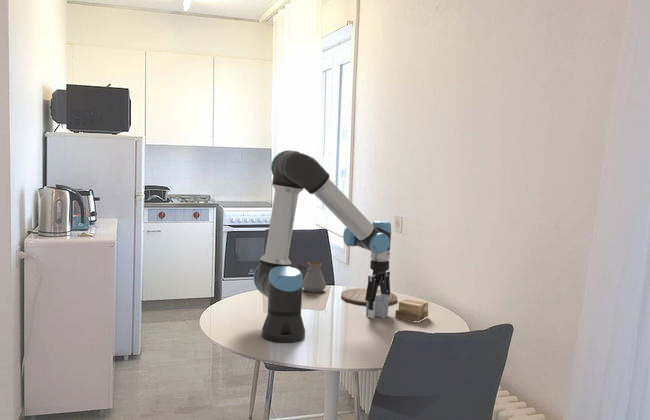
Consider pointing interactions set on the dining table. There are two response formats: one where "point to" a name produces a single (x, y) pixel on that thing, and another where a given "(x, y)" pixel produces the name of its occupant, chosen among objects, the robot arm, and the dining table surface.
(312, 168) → the robot arm
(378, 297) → the medicine box
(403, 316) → the walnut slab
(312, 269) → the coffee pot
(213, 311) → the dining table surface
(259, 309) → the dining table surface
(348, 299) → the trivet
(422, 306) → the oak slab
